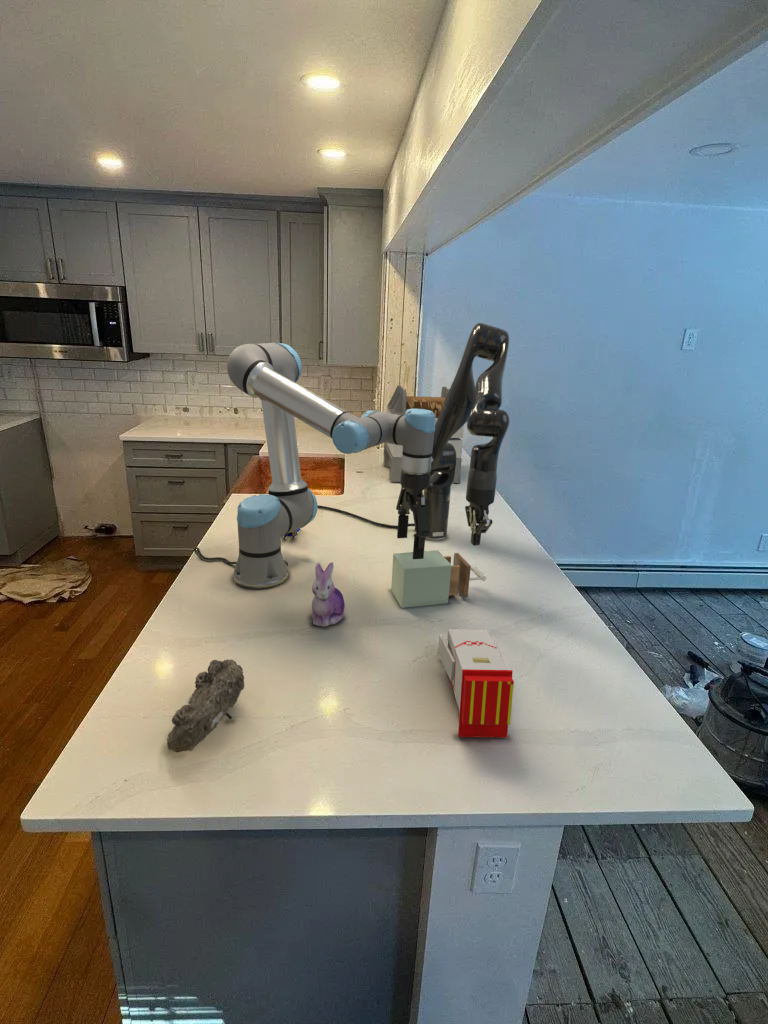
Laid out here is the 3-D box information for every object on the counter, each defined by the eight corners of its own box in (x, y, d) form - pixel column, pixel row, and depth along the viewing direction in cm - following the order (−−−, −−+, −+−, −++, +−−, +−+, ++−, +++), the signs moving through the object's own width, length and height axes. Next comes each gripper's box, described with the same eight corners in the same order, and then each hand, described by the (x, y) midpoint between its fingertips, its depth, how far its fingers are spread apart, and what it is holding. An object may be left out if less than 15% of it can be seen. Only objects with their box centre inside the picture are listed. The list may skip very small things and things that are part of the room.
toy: (488, 613, 130) (523, 677, 101) (484, 667, 133) (517, 744, 104) (435, 612, 130) (455, 676, 101) (432, 666, 133) (451, 743, 103)
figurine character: (298, 546, 189) (303, 525, 202) (297, 526, 185) (302, 506, 199) (277, 546, 188) (284, 525, 202) (276, 525, 185) (283, 505, 198)
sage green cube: (435, 586, 163) (438, 550, 159) (448, 603, 154) (451, 565, 150) (391, 590, 160) (393, 553, 156) (401, 608, 151) (404, 569, 147)
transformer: (382, 463, 289) (386, 382, 275) (445, 464, 293) (451, 384, 279) (390, 482, 257) (394, 392, 243) (460, 483, 261) (468, 394, 247)
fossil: (192, 660, 117) (244, 628, 112) (224, 691, 120) (276, 661, 115) (142, 746, 98) (202, 712, 93) (182, 779, 101) (242, 748, 96)
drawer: (472, 580, 165) (475, 551, 162) (485, 595, 157) (489, 564, 154) (416, 585, 161) (418, 555, 158) (427, 600, 153) (429, 569, 150)
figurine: (317, 631, 137) (317, 576, 132) (303, 612, 146) (302, 559, 141) (353, 623, 142) (354, 569, 137) (337, 605, 150) (337, 553, 145)
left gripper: (447, 485, 133) (439, 567, 141) (414, 457, 156) (408, 529, 163) (417, 486, 131) (410, 569, 139) (388, 458, 154) (383, 530, 161)
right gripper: (505, 491, 145) (498, 553, 151) (483, 476, 157) (477, 534, 163) (479, 492, 143) (472, 555, 149) (458, 477, 155) (453, 536, 161)
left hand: (409, 547), depth 151 cm, fingers open, 13 cm apart
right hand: (475, 544), depth 156 cm, fingers closed
